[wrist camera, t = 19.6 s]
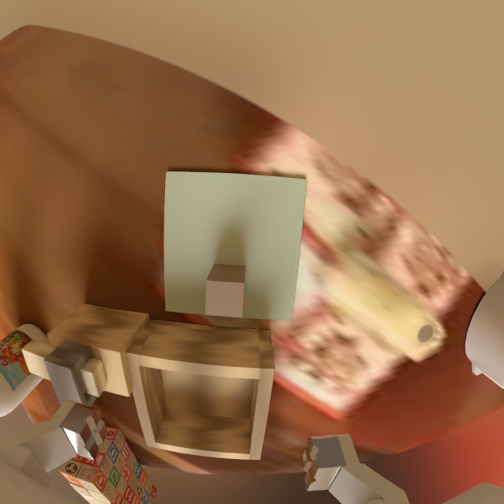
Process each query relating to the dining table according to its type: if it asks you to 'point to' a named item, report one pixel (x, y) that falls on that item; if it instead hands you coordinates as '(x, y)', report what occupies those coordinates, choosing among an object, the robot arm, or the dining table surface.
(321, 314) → the dining table surface
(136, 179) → the dining table surface
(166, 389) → the wooden cabinet
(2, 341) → the milk bottle
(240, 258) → the lid
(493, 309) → the robot arm
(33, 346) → the wooden block
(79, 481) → the stack of blocks
